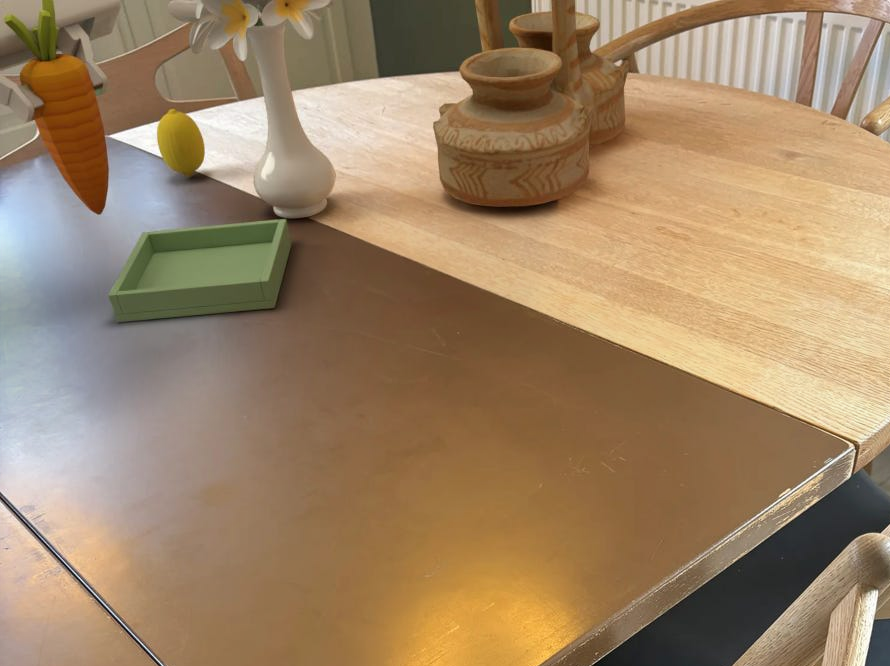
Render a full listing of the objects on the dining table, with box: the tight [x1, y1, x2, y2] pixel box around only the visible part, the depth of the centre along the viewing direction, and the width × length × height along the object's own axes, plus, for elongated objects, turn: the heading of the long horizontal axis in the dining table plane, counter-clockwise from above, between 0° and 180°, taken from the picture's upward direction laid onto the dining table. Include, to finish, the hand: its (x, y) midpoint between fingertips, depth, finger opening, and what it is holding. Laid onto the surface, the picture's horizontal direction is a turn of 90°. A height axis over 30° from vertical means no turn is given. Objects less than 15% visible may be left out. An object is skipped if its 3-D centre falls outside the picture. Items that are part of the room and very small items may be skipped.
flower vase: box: [167, 0, 337, 220], centre depth 109 cm, size 13×18×25 cm
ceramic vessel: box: [432, 0, 630, 208], centre depth 114 cm, size 34×18×25 cm, turn 162°
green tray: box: [108, 218, 292, 323], centre depth 104 cm, size 16×16×3 cm
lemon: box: [156, 108, 206, 178], centre depth 126 cm, size 6×6×8 cm
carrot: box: [4, 0, 110, 216], centre depth 77 cm, size 5×5×15 cm
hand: (68, 102), depth 76 cm, fingers closed on carrot, 5 cm apart
